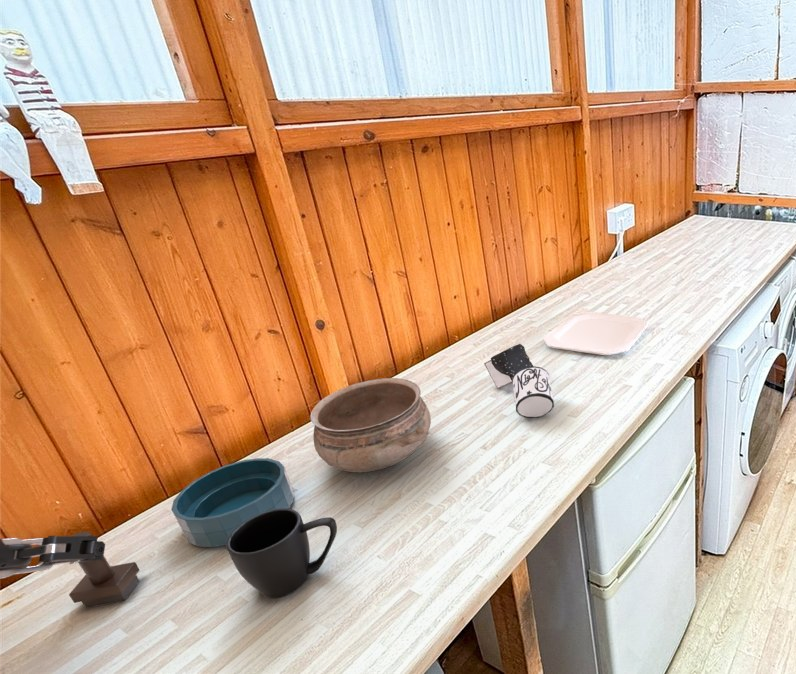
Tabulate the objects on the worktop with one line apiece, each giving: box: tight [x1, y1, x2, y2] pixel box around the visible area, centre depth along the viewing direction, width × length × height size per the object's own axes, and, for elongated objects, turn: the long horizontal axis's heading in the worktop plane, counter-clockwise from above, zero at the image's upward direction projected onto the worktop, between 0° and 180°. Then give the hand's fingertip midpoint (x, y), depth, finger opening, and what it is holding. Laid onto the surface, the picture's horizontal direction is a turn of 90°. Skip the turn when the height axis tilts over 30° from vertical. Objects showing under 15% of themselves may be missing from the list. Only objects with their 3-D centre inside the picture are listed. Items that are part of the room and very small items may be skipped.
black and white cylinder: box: [483, 343, 555, 419], centre depth 114 cm, size 25×10×10 cm, turn 34°
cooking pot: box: [310, 377, 432, 473], centre depth 94 cm, size 25×19×12 cm
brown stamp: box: [68, 530, 140, 609], centre depth 68 cm, size 5×4×10 cm
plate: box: [542, 310, 649, 356], centre depth 145 cm, size 25×25×2 cm
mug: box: [225, 508, 338, 599], centre depth 71 cm, size 8×12×10 cm
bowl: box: [171, 457, 295, 548], centre depth 82 cm, size 14×14×6 cm
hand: (57, 558), depth 63 cm, fingers open, 8 cm apart
